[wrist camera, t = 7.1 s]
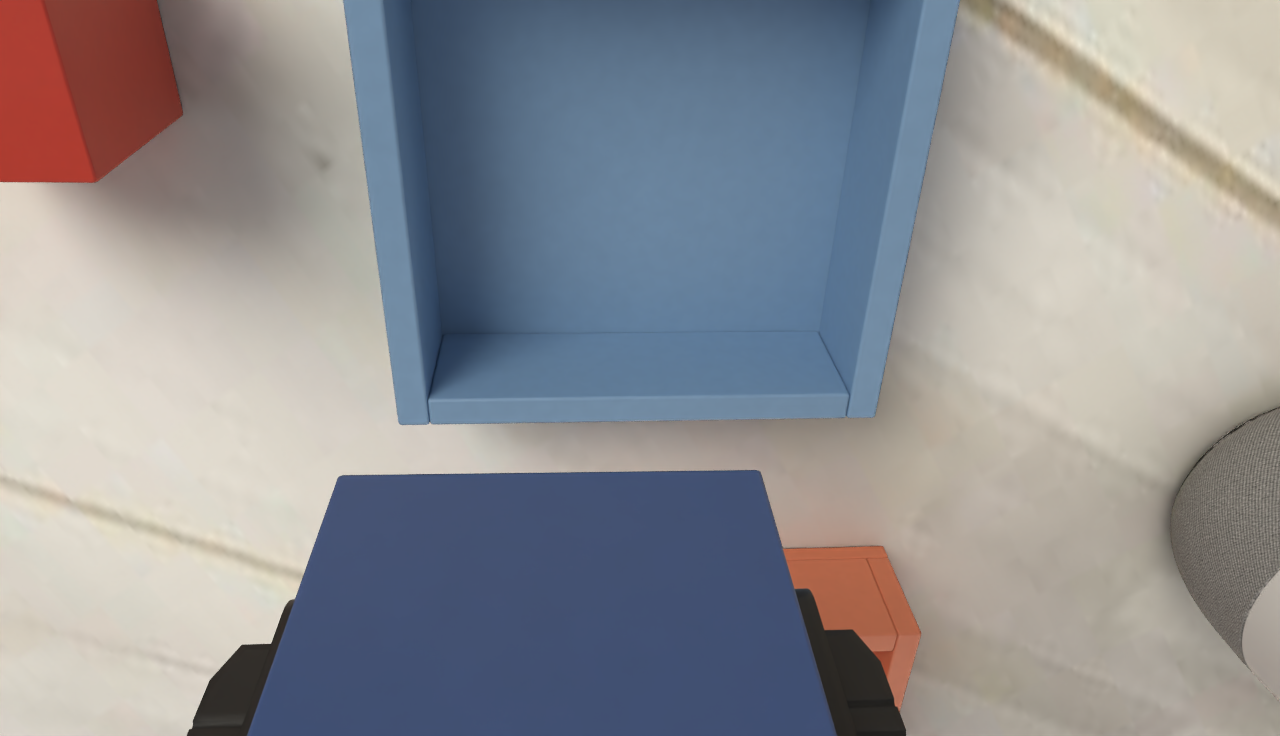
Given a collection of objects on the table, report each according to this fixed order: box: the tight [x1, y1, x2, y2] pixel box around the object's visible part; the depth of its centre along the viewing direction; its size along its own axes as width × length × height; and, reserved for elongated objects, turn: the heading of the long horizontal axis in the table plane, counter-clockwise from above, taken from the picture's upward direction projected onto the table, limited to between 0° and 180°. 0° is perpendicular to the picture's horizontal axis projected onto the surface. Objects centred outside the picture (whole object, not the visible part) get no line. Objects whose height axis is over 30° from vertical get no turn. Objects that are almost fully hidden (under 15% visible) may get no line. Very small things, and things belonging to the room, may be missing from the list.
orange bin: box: [783, 546, 921, 712], centre depth 33 cm, size 13×13×4 cm
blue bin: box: [343, 0, 960, 425], centre depth 22 cm, size 13×13×4 cm
